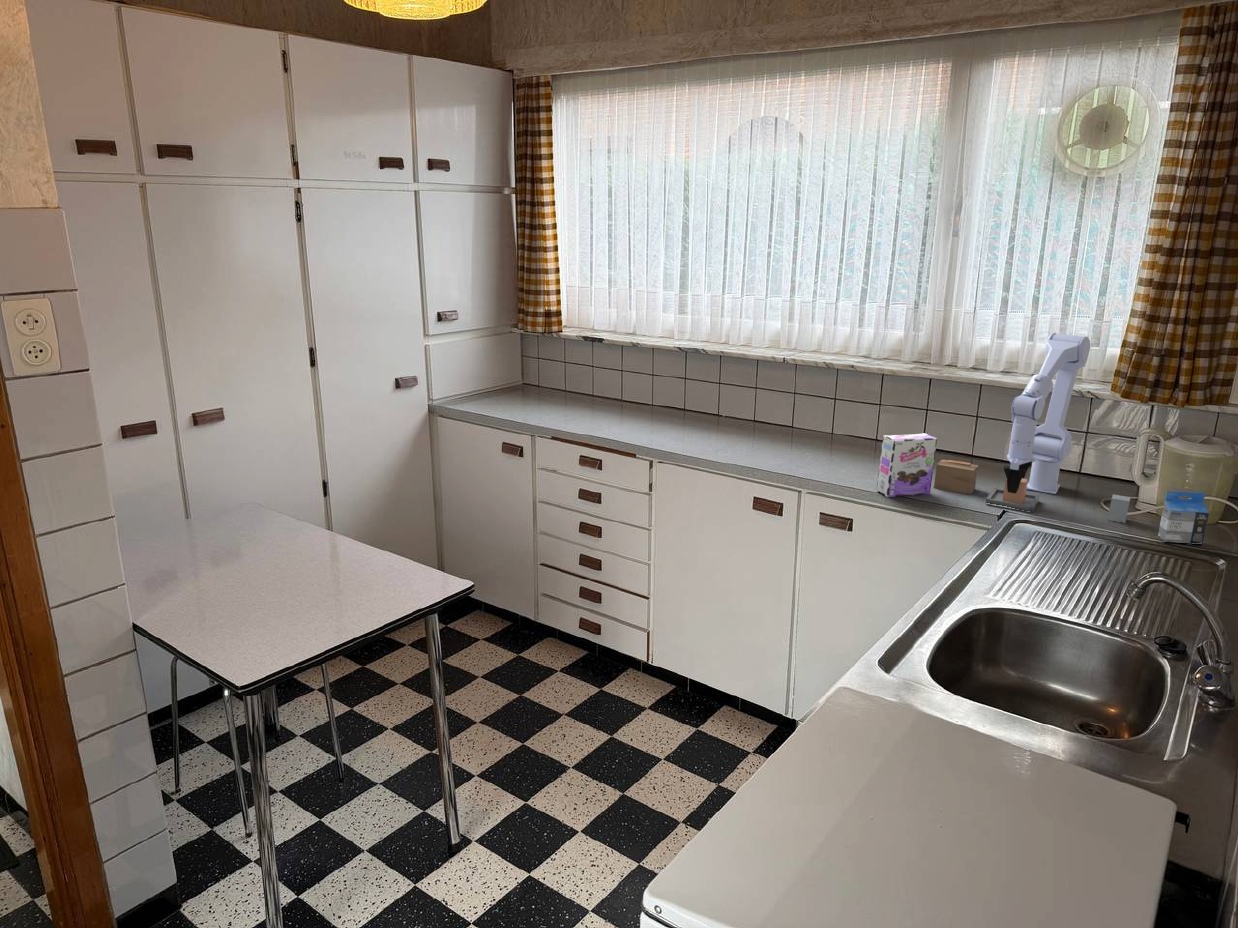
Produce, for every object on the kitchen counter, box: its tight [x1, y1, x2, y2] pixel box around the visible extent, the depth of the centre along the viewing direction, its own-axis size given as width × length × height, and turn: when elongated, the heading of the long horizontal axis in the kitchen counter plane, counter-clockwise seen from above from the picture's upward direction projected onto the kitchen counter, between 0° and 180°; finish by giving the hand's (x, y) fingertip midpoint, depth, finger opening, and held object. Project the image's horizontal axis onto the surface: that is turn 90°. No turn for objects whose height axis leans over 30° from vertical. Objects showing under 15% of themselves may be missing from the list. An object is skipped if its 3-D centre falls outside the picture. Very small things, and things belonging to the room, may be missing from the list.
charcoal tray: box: [985, 487, 1040, 513], centre depth 237 cm, size 12×12×2 cm
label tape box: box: [1157, 490, 1210, 543], centre depth 210 cm, size 9×4×12 cm, turn 82°
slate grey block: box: [1107, 494, 1131, 524], centre depth 225 cm, size 4×4×6 cm
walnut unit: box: [933, 459, 979, 495], centre depth 248 cm, size 7×10×7 cm, turn 58°
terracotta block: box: [1002, 477, 1029, 504], centre depth 236 cm, size 4×5×6 cm
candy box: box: [875, 432, 938, 498], centre depth 241 cm, size 14×6×16 cm, turn 105°
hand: (1014, 488), depth 236 cm, fingers open, 7 cm apart
